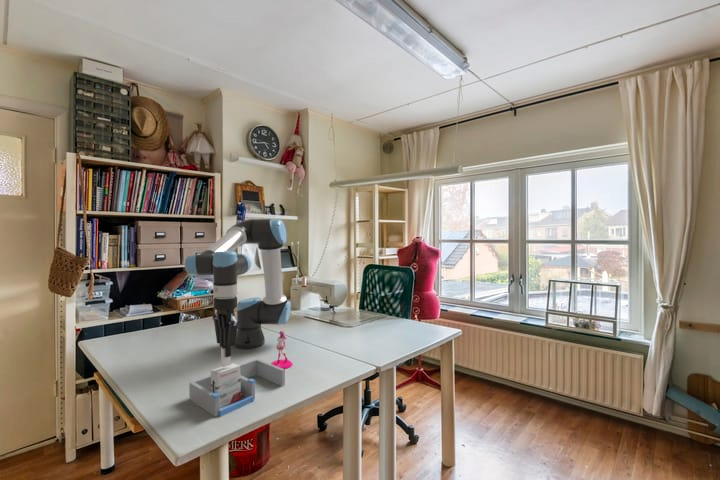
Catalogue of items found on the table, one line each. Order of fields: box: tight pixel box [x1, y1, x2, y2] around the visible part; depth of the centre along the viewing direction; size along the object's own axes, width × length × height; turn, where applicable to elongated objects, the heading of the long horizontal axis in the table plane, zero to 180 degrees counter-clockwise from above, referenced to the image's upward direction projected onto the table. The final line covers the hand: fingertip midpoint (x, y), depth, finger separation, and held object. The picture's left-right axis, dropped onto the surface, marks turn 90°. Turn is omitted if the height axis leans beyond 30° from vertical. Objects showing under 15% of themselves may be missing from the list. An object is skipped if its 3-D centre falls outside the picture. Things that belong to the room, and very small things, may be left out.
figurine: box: [270, 330, 294, 370], centre depth 147 cm, size 10×10×15 cm
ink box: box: [210, 362, 242, 409], centre depth 116 cm, size 8×5×12 cm, turn 141°
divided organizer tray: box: [188, 358, 286, 417], centre depth 123 cm, size 18×28×7 cm, turn 142°
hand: (226, 365), depth 116 cm, fingers closed
